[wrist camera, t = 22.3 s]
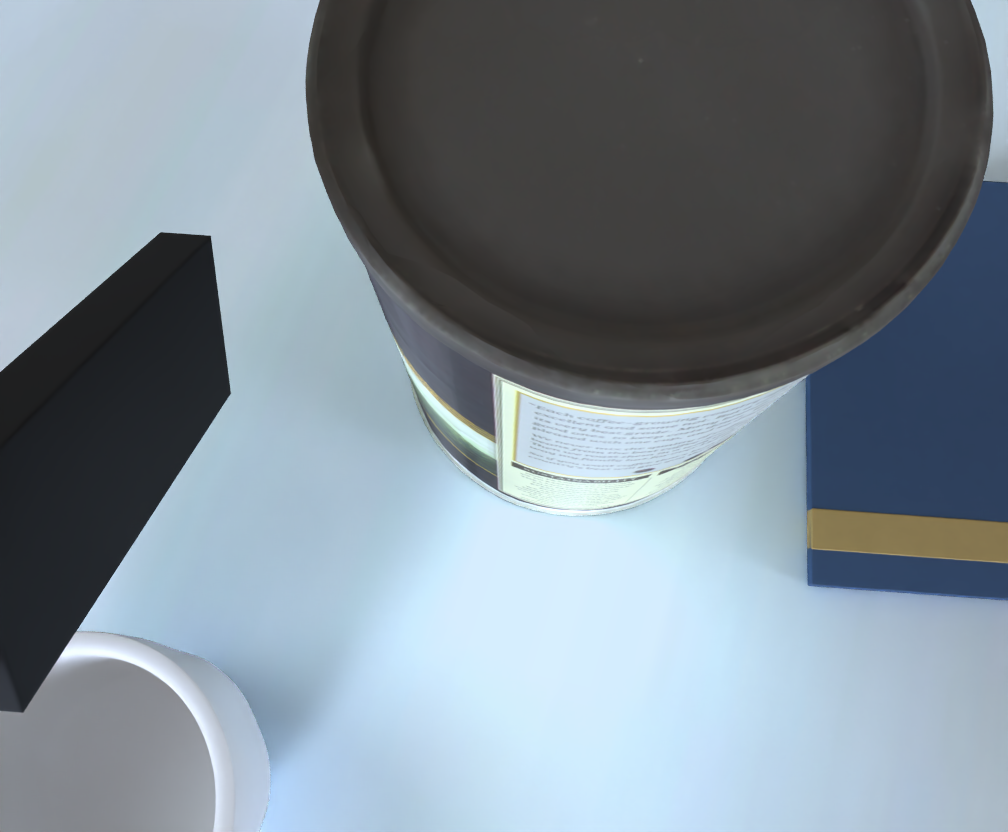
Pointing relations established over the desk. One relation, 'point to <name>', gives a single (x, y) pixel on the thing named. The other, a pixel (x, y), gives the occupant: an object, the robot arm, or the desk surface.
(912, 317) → the blue flat rectangular block
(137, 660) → the teacup
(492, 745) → the desk surface
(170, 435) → the robot arm
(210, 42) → the desk surface
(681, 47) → the coffee can
